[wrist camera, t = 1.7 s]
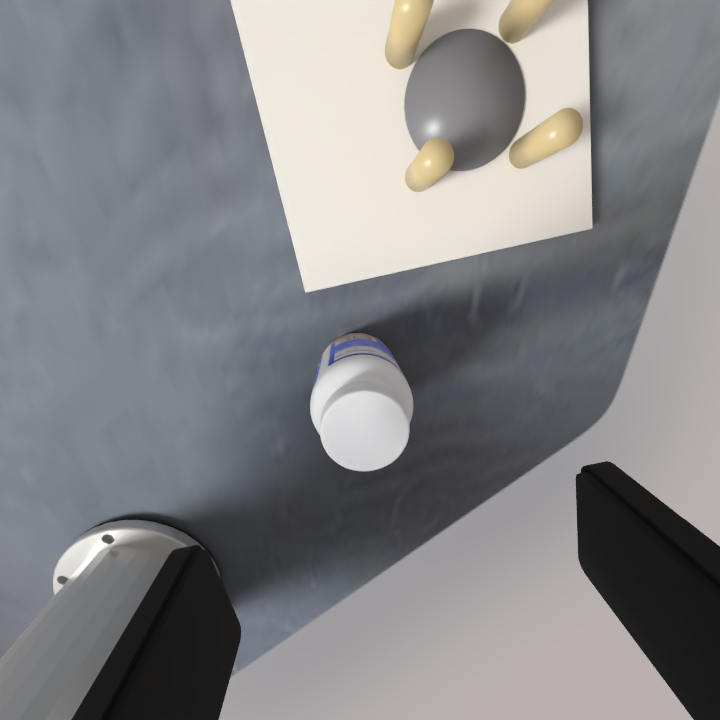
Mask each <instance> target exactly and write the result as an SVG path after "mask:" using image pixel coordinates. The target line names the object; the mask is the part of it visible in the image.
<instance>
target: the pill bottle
mask: <svg viewBox="0 0 720 720" xmlns="http://www.w3.org/2000/svg"><path fill="white" fill-rule="evenodd" d="M310 412H311V418H312V421H313V424H314V426H315V428H316V430H317V431H318V433H319V434H320V437H321V441H322V444H323V447H324V449H325V450H326V452H327V454H328V455H329V456H330V457H331V458H332V459H333V460H334V461H335V462H336V463H338V464H339V465H341V466H343V467H345V468H348V469H351V470H355V471H373V470H377V469H380V468H383V467H385V466H387V465H388V464H390V463H392V462H393V461H394V460H396V459H397V458H398V457H399V456H400V454H401V453H402V452H403V450H404V448H405V447H406V445H407V442H408V438H409V432H410V427H409V424H410V422H411V418H412V414H413V397H412V393H411V389H410V387H409V385H408V382H407V380H406V379H405V377H404V375H403V373H402V371H401V369H400V368H399V366H398V364H397V362H396V361H395V359H394V357H393V355H392V353H391V352H390V350H389V349H388V348H387V346H386V345H385V344H384V343H383V342H381V341H380V340H379V339H377V338H375V337H373V336H371V335H368V334H363V333H352V334H347V335H344V336H342V337H340V338H338V339H336V340H335V341H333V342H332V343H331V344H330V345H329V346H328V347H327V348H326V350H325V351H324V353H323V354H322V356H321V359H320V361H319V364H318V369H317V374H316V378H315V382H314V386H313V390H312V395H311V401H310Z"/></svg>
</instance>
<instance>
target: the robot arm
mask: <svg viewBox="0 0 720 720" xmlns="http://www.w3.org/2000/svg"><path fill="white" fill-rule="evenodd" d="M576 499H577V530H578V557H579V562H580V565H581V567H582V569H583V571H584V573H585V574H586V576H587V577H588V578H589V580H590V581H591V582H592V584H593V585H594V586H595V588H596V589H597V590H598V592H599V593H600V594H601V596H602V597H603V599H604V600H605V601H606V602H607V604H608V605H609V606H610V608H611V609H612V611H613V612H614V613H615V615H616V616H617V617H618V619H619V620H620V621H621V622H622V624H623V625H624V627H625V628H626V629H627V631H628V632H629V633H630V635H631V636H632V637H633V639H634V640H635V641H636V643H637V644H638V645H639V647H640V648H641V649H642V651H643V652H644V654H645V655H646V656H647V657H648V659H649V660H650V662H651V663H652V664H653V666H654V667H655V668H656V670H657V671H658V672H659V674H660V675H661V676H662V678H663V679H664V680H665V681H666V683H667V684H668V686H669V687H670V688H671V690H672V691H673V692H674V694H675V695H676V696H677V698H678V699H679V700H680V702H681V703H682V704H683V705H684V707H685V708H686V710H687V711H688V712H689V714H690V715H691V717H692V718H693V719H694V720H720V546H718V545H717V544H716V543H714V542H713V541H712V540H711V539H709V538H708V537H707V536H705V535H704V534H703V533H702V532H700V531H699V530H698V529H697V528H695V527H694V526H693V525H691V524H690V523H689V522H687V521H686V520H685V519H683V518H682V517H681V516H679V515H678V514H677V513H675V512H674V511H673V510H672V509H670V508H669V507H668V506H667V505H665V504H664V503H663V502H661V501H660V500H659V499H658V498H656V497H655V496H654V495H653V494H651V493H650V492H649V491H647V490H646V489H645V488H644V487H642V486H641V485H640V484H639V483H637V482H636V481H635V480H633V479H632V478H631V477H629V476H628V475H627V474H626V473H624V472H623V471H622V470H621V469H619V468H618V467H617V466H616V465H614V464H613V463H611V462H607V461H606V462H601V463H597V464H592V465H587V466H583V468H582V469H581V473H580V474H577V476H576ZM53 589H54V594H55V596H54V597H53V598H52V599H51V600H50V602H49V603H48V604H47V605H46V606H45V607H44V609H43V610H42V611H41V612H40V613H39V614H38V616H37V617H36V618H35V619H34V620H33V621H32V623H31V624H30V625H29V626H28V627H27V628H26V630H25V631H24V632H23V633H22V634H21V635H20V637H19V638H18V639H17V640H16V641H15V642H14V644H13V645H12V646H11V647H10V648H9V649H8V651H7V652H6V653H5V654H4V655H3V656H2V658H1V659H0V720H218V719H219V716H220V712H221V708H222V705H223V701H224V697H225V694H226V690H227V687H228V683H229V679H230V676H231V672H232V669H233V665H234V661H235V658H236V654H237V651H238V647H239V643H240V639H241V627H240V623H239V620H238V618H237V616H236V614H235V611H234V609H233V607H232V604H231V602H230V600H229V598H228V595H227V593H226V591H225V588H224V586H223V584H222V582H221V578H220V573H219V571H218V568H217V566H216V564H215V562H214V560H213V559H212V557H211V556H210V554H209V552H208V551H207V550H205V549H204V548H203V547H202V546H201V545H200V544H199V543H198V542H197V541H195V540H194V539H193V538H191V537H190V536H188V535H187V534H185V533H183V532H181V531H179V530H177V529H175V528H172V527H170V526H167V525H163V524H160V523H156V522H150V521H143V520H121V521H115V522H109V523H106V524H103V525H100V526H97V527H94V528H92V529H91V530H89V531H87V532H86V533H84V534H82V535H81V536H80V537H79V538H78V539H77V540H76V541H74V542H73V543H72V544H71V545H70V546H69V547H68V549H67V550H66V551H65V552H64V553H63V555H62V556H61V557H60V559H59V561H58V563H57V565H56V567H55V570H54V575H53Z"/></svg>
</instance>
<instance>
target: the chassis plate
mask: <svg viewBox="0 0 720 720" xmlns="http://www.w3.org/2000/svg"><path fill="white" fill-rule="evenodd" d="M231 3H232V7H233V11H234V15H235V19H236V23H237V27H238V31H239V35H240V39H241V42H242V46H243V50H244V54H245V58H246V62H247V66H248V70H249V74H250V78H251V82H252V85H253V89H254V93H255V97H256V101H257V105H258V109H259V113H260V117H261V121H262V124H263V128H264V132H265V136H266V140H267V144H268V148H269V152H270V156H271V160H272V163H273V167H274V171H275V175H276V179H277V183H278V187H279V191H280V195H281V199H282V203H283V206H284V210H285V214H286V218H287V222H288V226H289V230H290V234H291V238H292V242H293V245H294V249H295V253H296V257H297V261H298V265H299V269H300V273H301V277H302V281H303V285H304V288H305V292H310V291H315V290H319V289H324V288H328V287H333V286H337V285H342V284H346V283H351V282H355V281H360V280H364V279H369V278H373V277H378V276H382V275H387V274H391V273H396V272H400V271H405V270H409V269H414V268H418V267H422V266H427V265H431V264H436V263H440V262H445V261H449V260H454V259H458V258H463V257H467V256H472V255H476V254H481V253H485V252H490V251H494V250H499V249H503V248H508V247H512V246H517V245H521V244H526V243H530V242H535V241H539V240H543V239H548V238H552V237H557V236H561V235H566V234H570V233H575V232H579V231H584V230H588V229H592V181H591V132H590V83H589V34H588V0H231Z"/></svg>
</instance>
